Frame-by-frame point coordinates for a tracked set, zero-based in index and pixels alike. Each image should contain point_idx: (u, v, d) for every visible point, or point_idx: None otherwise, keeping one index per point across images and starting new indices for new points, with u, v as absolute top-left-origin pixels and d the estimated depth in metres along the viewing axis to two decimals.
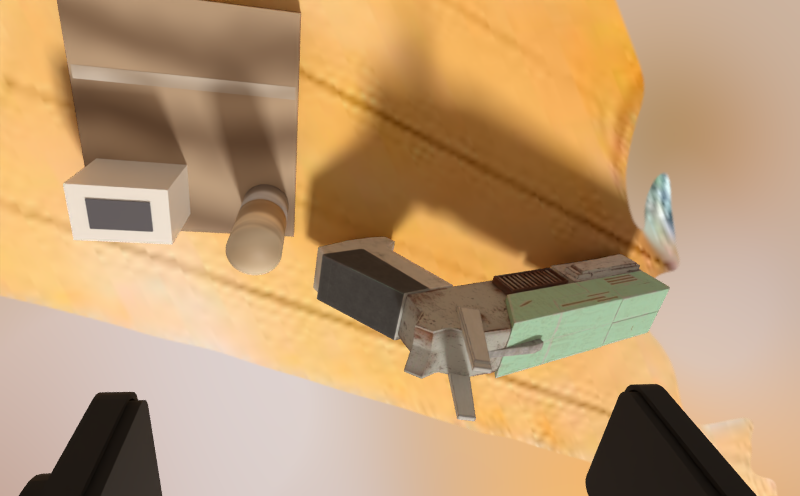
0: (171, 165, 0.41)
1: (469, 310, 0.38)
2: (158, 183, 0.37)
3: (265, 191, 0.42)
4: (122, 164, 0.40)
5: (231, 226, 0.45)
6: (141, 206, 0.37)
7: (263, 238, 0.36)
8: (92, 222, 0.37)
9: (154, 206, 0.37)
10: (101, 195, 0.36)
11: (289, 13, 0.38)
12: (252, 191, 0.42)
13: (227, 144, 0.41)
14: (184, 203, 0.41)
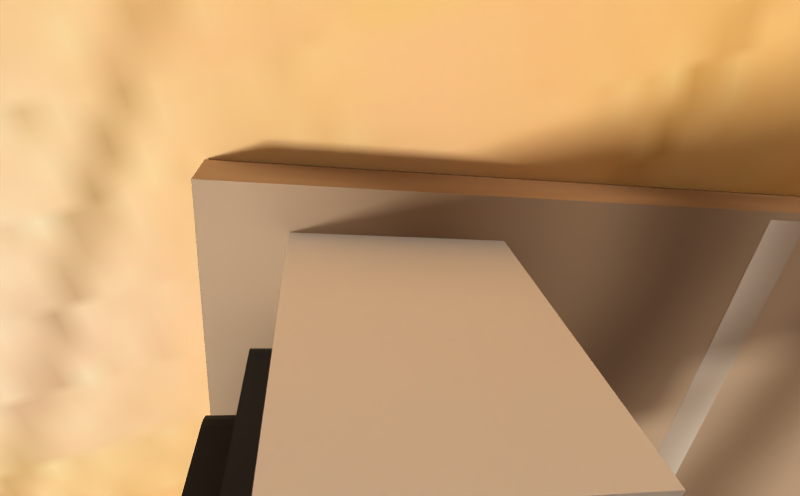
0: None
1: None
2: None
3: None
4: None
5: None
6: None
7: None
8: None
9: None
10: None
11: None
12: None
13: None
14: None
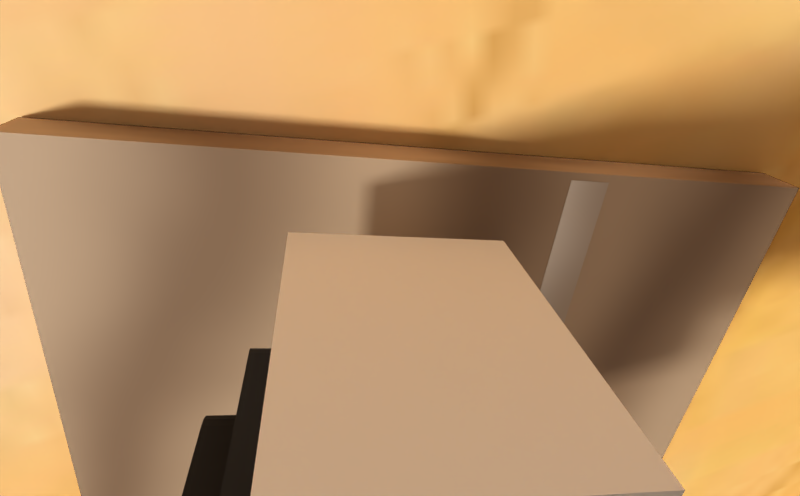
0: None
1: None
2: None
3: None
4: None
5: None
6: None
7: None
8: None
9: None
10: None
11: None
12: None
13: None
14: None
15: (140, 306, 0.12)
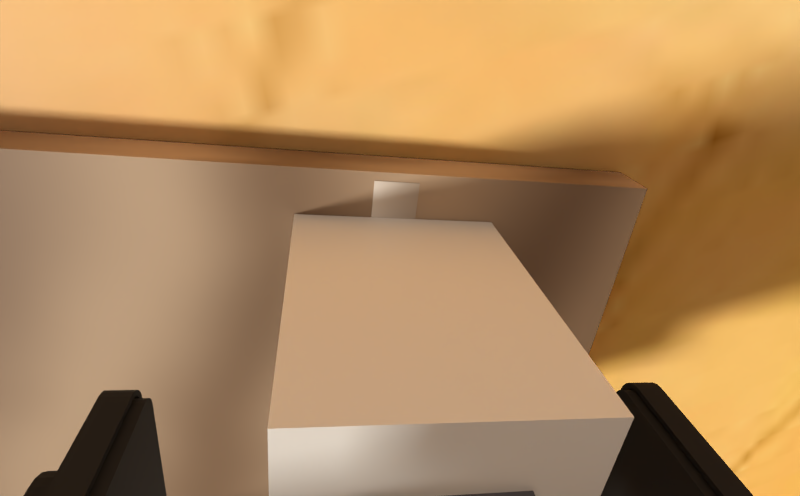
0: None
1: None
2: None
3: None
4: None
5: None
6: None
7: None
8: None
9: None
10: None
11: None
12: None
13: None
14: None
15: None
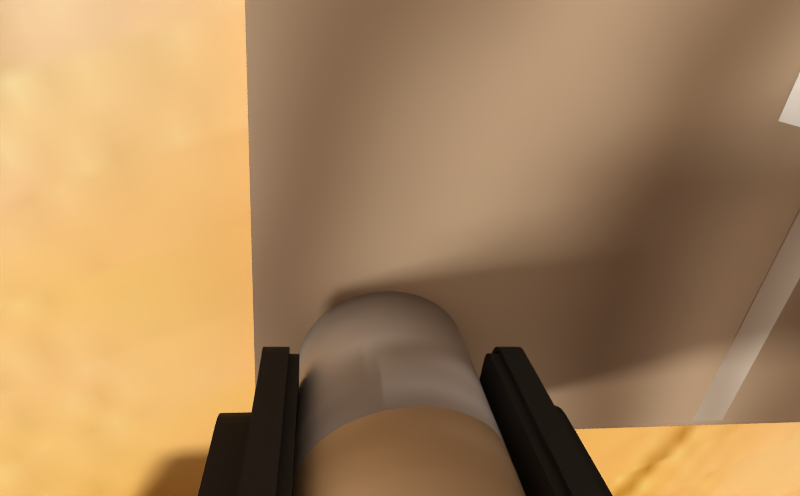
0: None
1: None
2: None
3: None
4: None
5: (287, 246, 0.10)
6: None
7: None
8: None
9: None
10: None
11: None
12: (470, 360, 0.11)
13: (620, 254, 0.12)
14: None
15: None
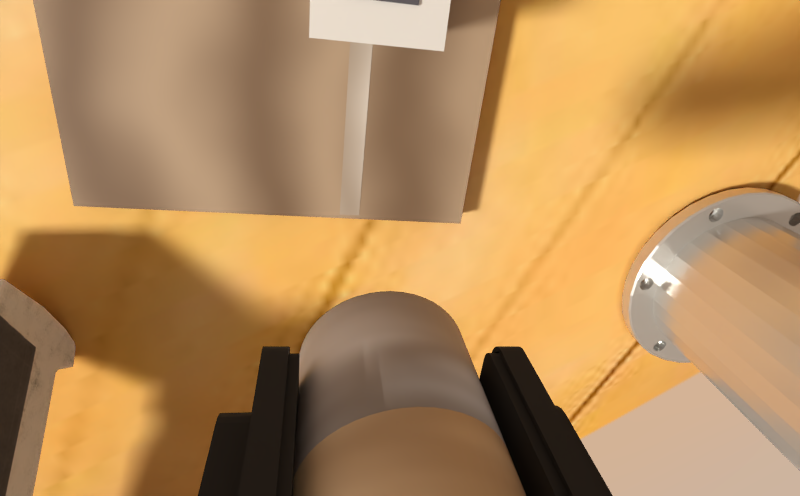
0: None
1: None
2: None
3: None
4: None
5: (68, 86, 0.21)
6: None
7: None
8: None
9: (407, 12, 0.16)
10: None
11: (461, 209, 0.26)
12: (471, 361, 0.11)
13: (253, 99, 0.22)
14: None
15: None
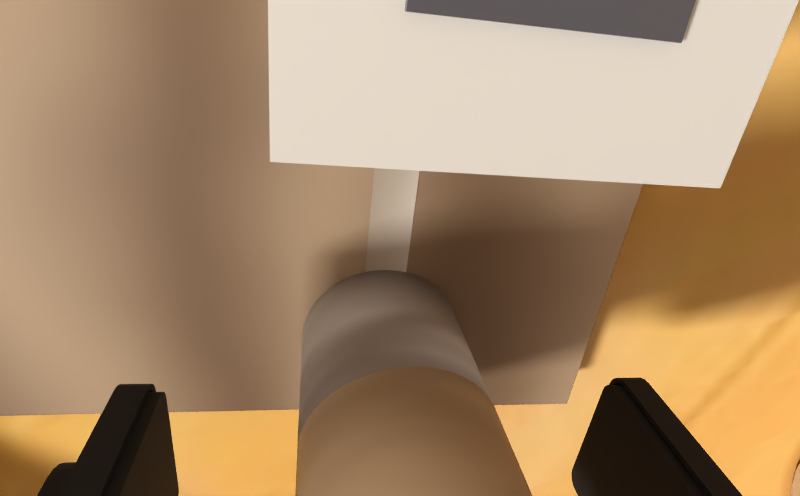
0: None
1: None
2: None
3: None
4: None
5: None
6: None
7: None
8: None
9: (633, 67, 0.04)
10: None
11: (571, 383, 0.15)
12: (462, 333, 0.12)
13: (175, 217, 0.11)
14: None
15: None
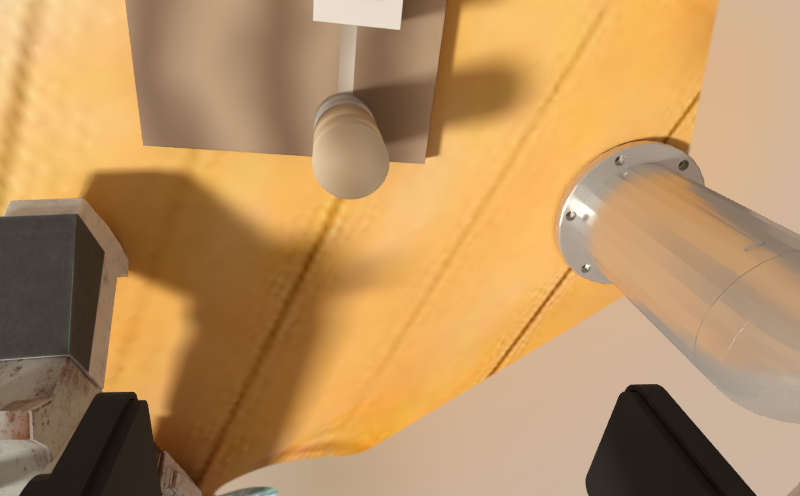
0: None
1: None
2: None
3: None
4: None
5: (144, 57, 0.30)
6: None
7: (371, 177, 0.26)
8: None
9: (376, 4, 0.25)
10: None
11: (424, 152, 0.35)
12: (372, 114, 0.32)
13: (272, 68, 0.31)
14: None
15: None
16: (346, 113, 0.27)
